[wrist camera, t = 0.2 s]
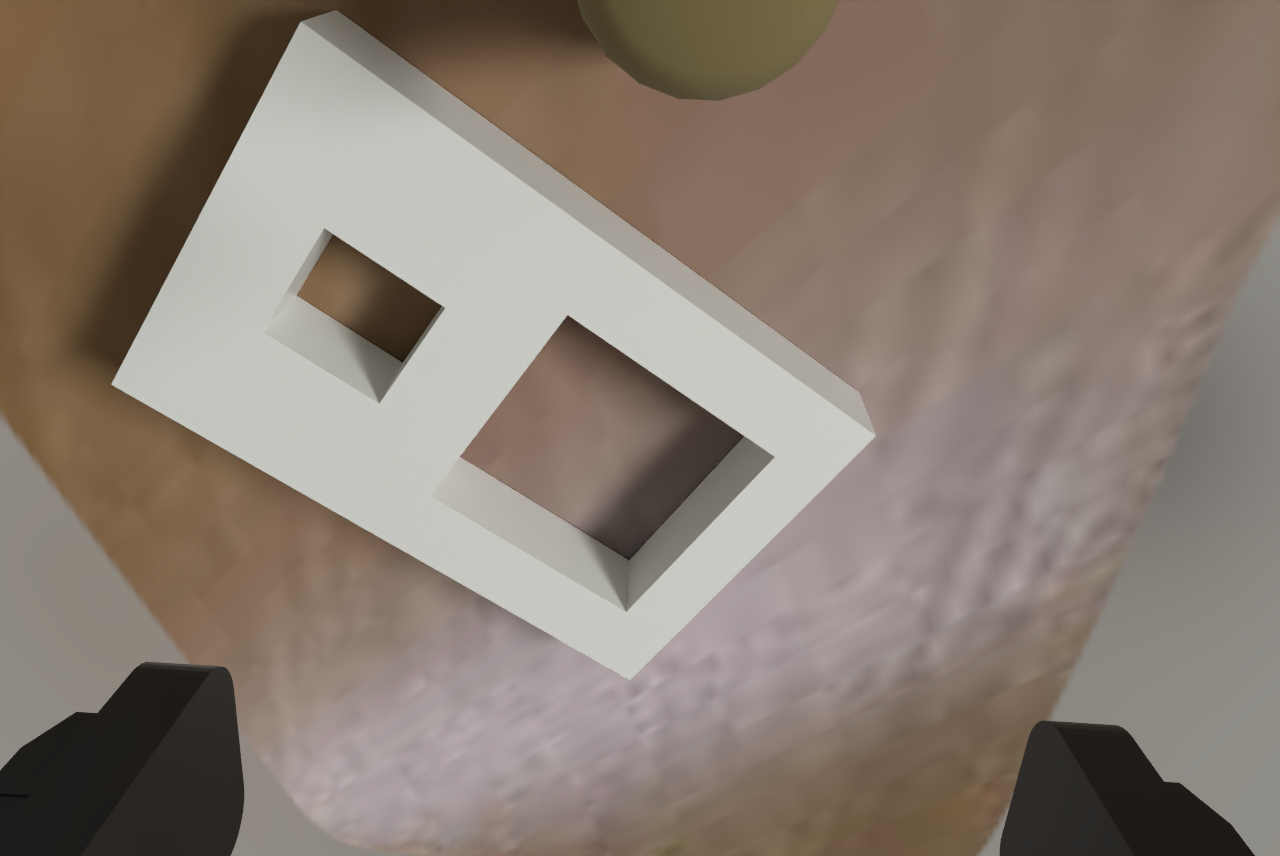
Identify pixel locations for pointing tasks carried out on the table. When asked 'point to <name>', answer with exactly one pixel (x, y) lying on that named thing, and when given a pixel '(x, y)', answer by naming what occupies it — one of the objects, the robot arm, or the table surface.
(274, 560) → the table surface
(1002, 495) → the table surface
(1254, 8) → the table surface
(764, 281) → the table surface
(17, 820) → the robot arm
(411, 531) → the socket board
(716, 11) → the olive knobbed peg
